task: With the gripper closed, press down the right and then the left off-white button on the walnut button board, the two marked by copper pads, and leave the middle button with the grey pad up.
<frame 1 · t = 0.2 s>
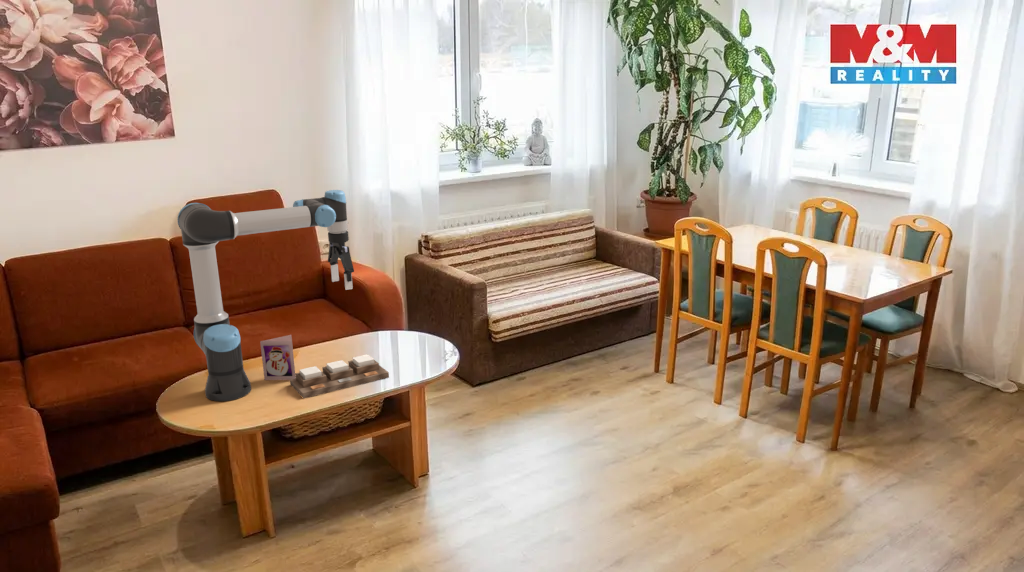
hand: (342, 285, 305), 28 cm above the table, fingers open, 13 cm apart
button board: (340, 381, 286), on the table
greeting card: (282, 377, 290), on the table
button middle: (337, 367, 286), point 5 cm above the table, slide at 0.0 cm
button left: (310, 373, 281), point 5 cm above the table, slide at 0.0 cm
button right: (363, 361, 291), point 5 cm above the table, slide at 0.0 cm
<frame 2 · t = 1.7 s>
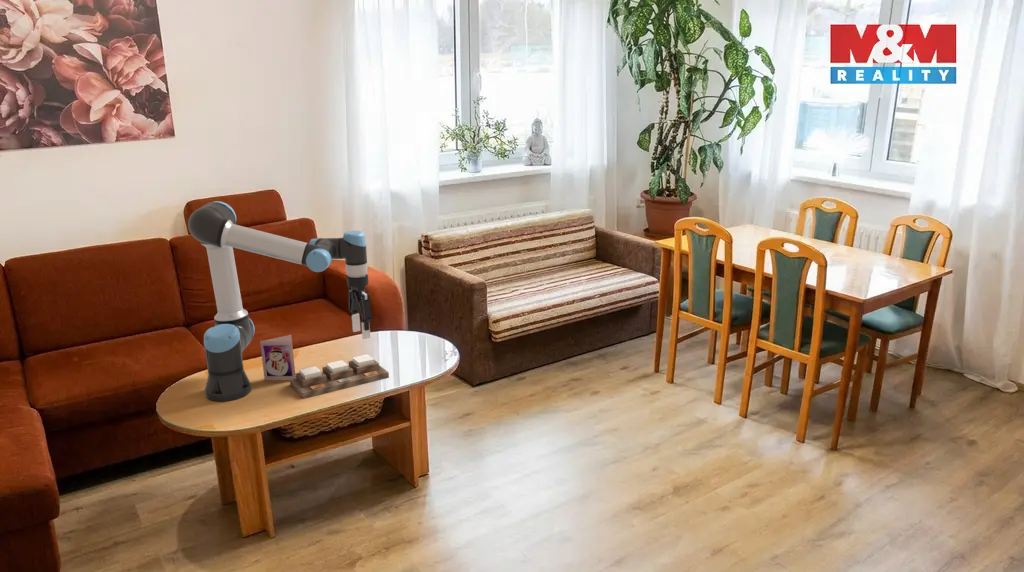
hand: (361, 334, 288), 15 cm above the table, fingers open, 8 cm apart
nothing on the table moved.
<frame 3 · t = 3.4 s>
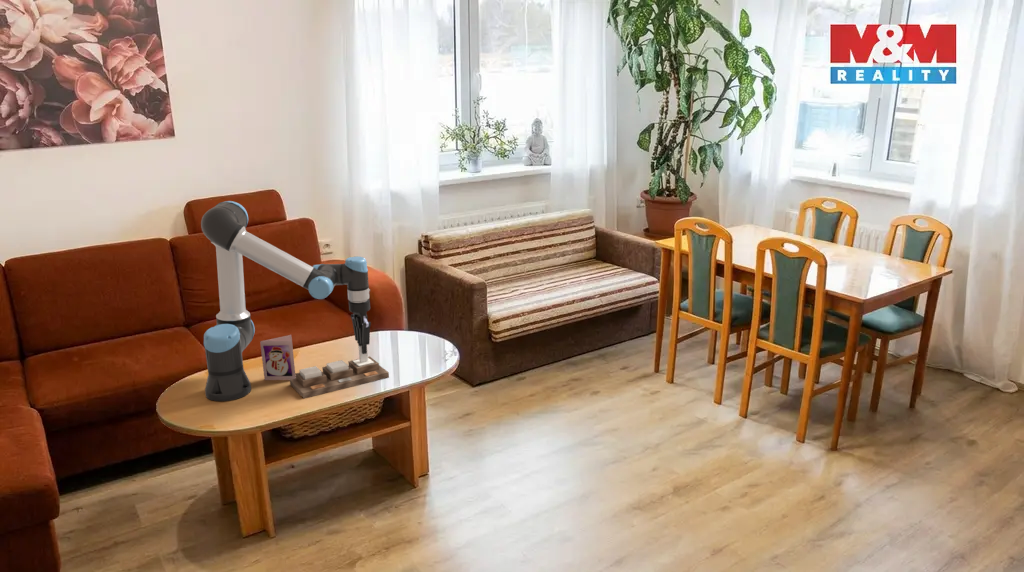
hand: (363, 360, 291), 5 cm above the table, fingers closed
button right: (363, 364, 291), point 4 cm above the table, slide at 1.2 cm, touching gripper
everything else where it was.
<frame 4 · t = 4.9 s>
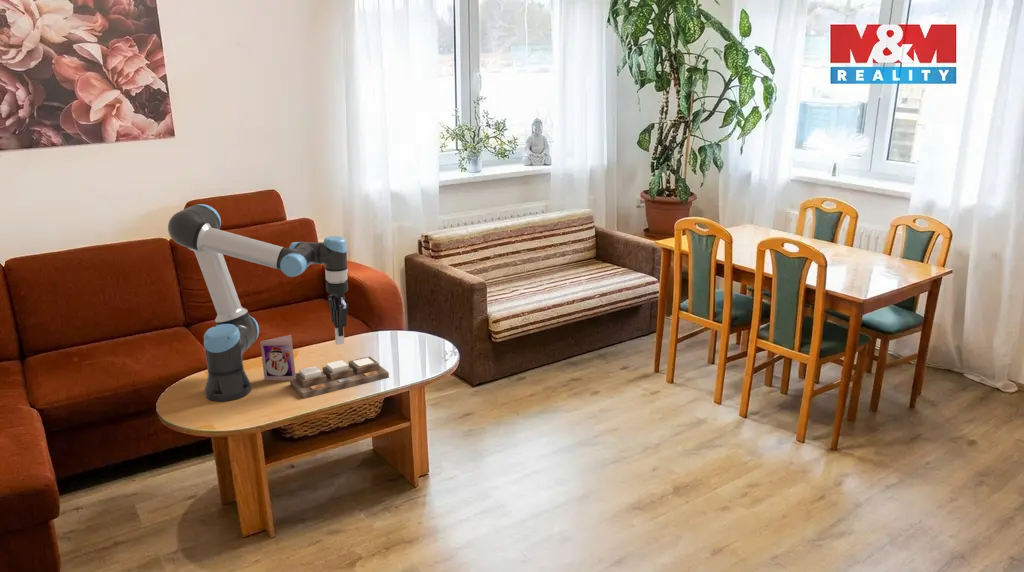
hand: (339, 343, 285), 13 cm above the table, fingers closed
button right: (363, 364, 291), point 3 cm above the table, slide at 1.3 cm
everything else where it was.
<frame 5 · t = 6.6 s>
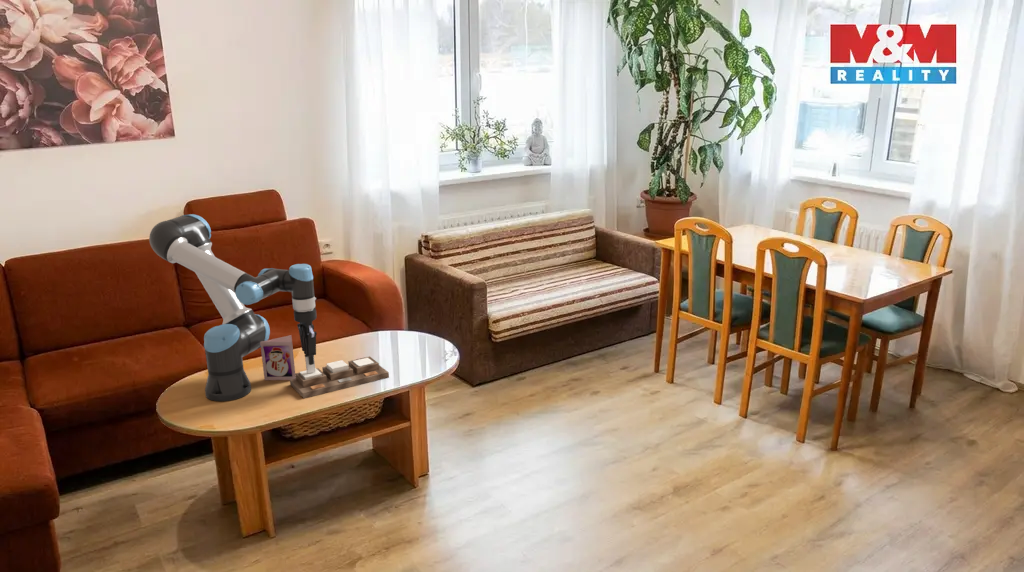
hand: (311, 371, 280), 5 cm above the table, fingers closed
greeting card: (282, 377, 290), on the table, touching arm
button left: (310, 375, 281), point 4 cm above the table, slide at 0.8 cm, touching gripper
everything else where it was.
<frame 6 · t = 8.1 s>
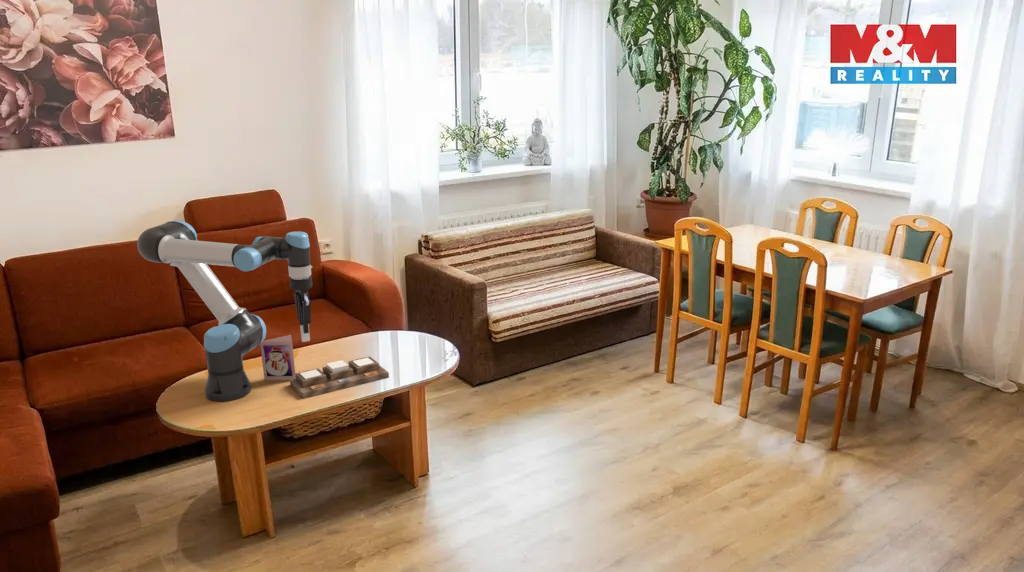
hand: (305, 340, 280), 16 cm above the table, fingers closed
greeting card: (282, 377, 290), on the table
button left: (311, 377, 281), point 4 cm above the table, slide at 1.3 cm
everything else where it was.
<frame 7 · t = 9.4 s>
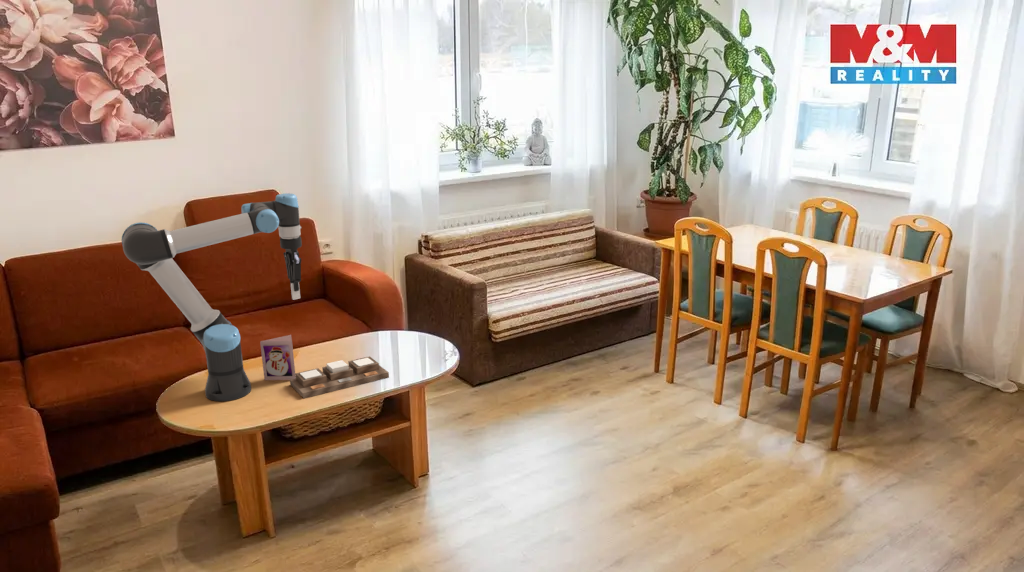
hand: (296, 298, 294), 26 cm above the table, fingers closed
nothing on the table moved.
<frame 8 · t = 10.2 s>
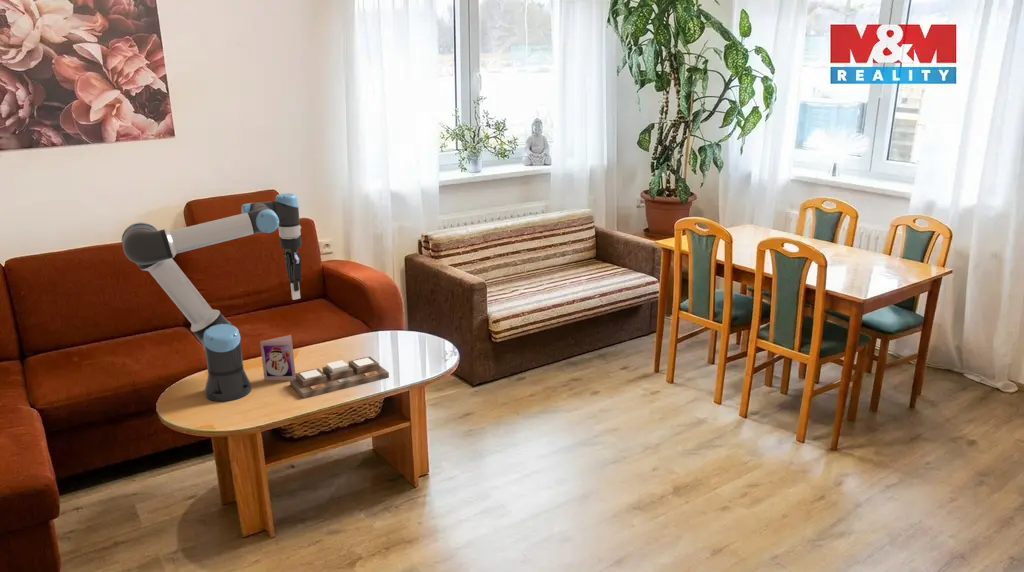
hand: (296, 298, 294), 26 cm above the table, fingers closed
nothing on the table moved.
at the end: button right slide at 1.3 cm; button left slide at 1.3 cm; button middle slide at 0.0 cm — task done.
